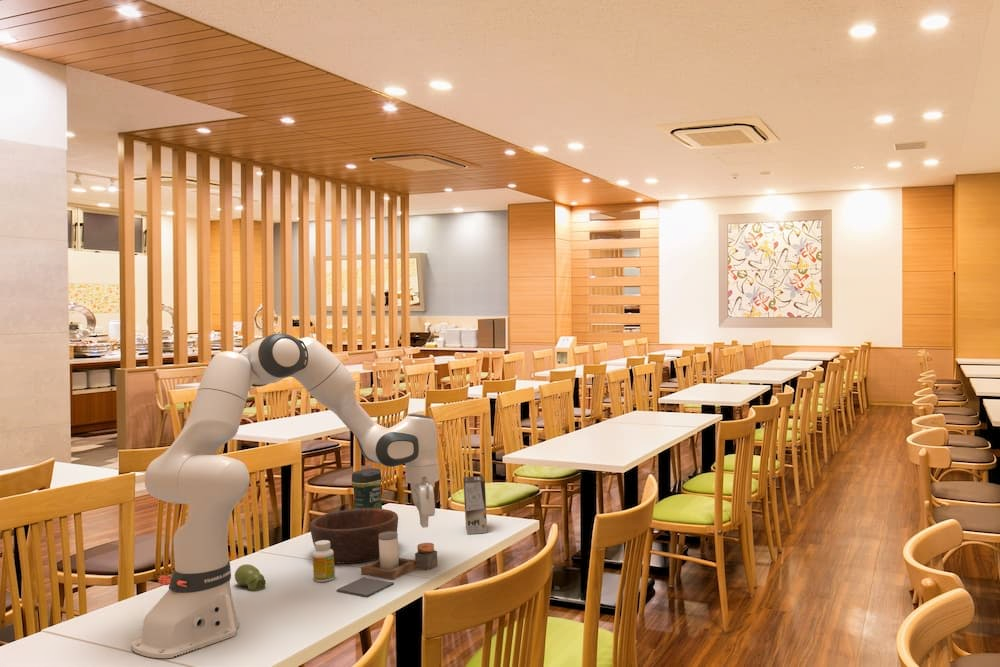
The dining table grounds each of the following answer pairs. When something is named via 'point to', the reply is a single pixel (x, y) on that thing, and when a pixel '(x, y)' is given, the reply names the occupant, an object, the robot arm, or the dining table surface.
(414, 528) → the dining table surface
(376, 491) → the coffee jar
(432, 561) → the square wooden frame
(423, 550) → the plunger
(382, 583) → the pad
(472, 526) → the coffee box
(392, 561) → the cylinder
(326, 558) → the supplement bottle
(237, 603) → the dining table surface
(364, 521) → the wooden bowl
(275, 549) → the dining table surface
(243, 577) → the pear
